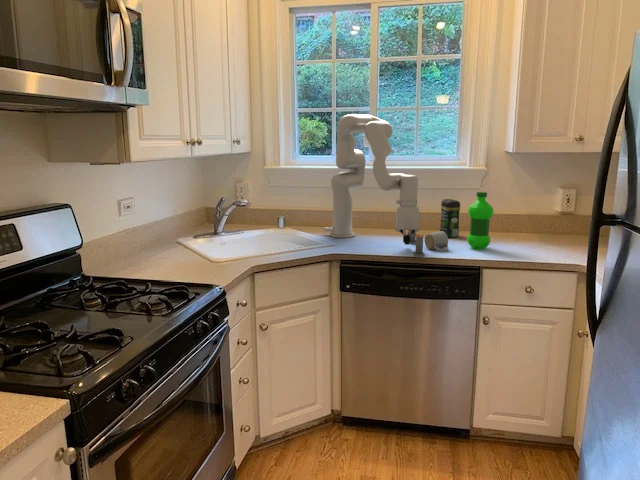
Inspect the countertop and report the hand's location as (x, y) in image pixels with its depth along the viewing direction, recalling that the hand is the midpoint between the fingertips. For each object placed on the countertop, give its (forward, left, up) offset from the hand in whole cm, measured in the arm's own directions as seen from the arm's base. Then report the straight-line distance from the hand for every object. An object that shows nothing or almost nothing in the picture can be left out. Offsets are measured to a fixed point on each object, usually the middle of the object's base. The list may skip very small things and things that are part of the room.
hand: (406, 243), depth 221 cm
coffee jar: (+24, +28, -2) cm, 37 cm away
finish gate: (+4, 0, -2) cm, 4 cm away
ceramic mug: (+14, -1, -2) cm, 14 cm away
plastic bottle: (+32, +2, -2) cm, 32 cm away
